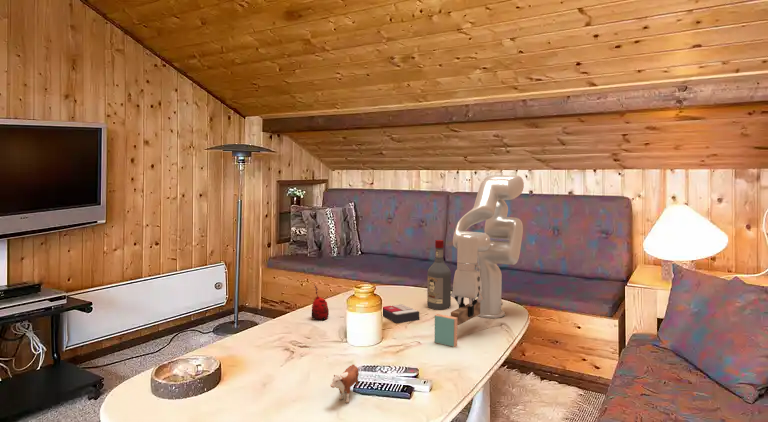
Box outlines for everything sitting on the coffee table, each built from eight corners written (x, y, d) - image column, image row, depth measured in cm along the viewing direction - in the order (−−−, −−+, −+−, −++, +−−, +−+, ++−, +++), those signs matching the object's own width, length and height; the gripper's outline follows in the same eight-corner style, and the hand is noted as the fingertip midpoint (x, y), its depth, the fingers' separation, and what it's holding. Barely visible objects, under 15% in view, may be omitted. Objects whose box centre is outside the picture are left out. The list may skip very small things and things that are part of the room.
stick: (473, 312, 202) (473, 301, 201) (480, 313, 200) (480, 302, 200) (450, 324, 187) (450, 312, 187) (458, 325, 186) (458, 313, 185)
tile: (437, 340, 185) (437, 313, 184) (457, 345, 180) (457, 317, 180) (434, 342, 183) (434, 315, 182) (453, 347, 179) (454, 319, 178)
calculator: (401, 303, 224) (419, 309, 210) (402, 313, 224) (419, 320, 211) (379, 306, 219) (396, 313, 205) (379, 316, 219) (396, 324, 206)
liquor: (437, 303, 236) (438, 238, 233) (453, 307, 229) (454, 240, 227) (424, 306, 230) (424, 240, 227) (439, 311, 223) (440, 242, 220)
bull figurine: (327, 406, 134) (327, 376, 134) (349, 386, 147) (349, 358, 146) (343, 409, 133) (342, 379, 132) (363, 388, 145) (363, 360, 145)
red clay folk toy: (331, 319, 211) (331, 283, 210) (316, 322, 207) (316, 285, 206) (323, 315, 217) (322, 280, 216) (308, 317, 213) (307, 282, 212)
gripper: (491, 268, 191) (490, 317, 192) (452, 263, 200) (451, 309, 202) (482, 271, 185) (481, 321, 186) (443, 266, 194) (442, 313, 195)
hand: (466, 314), depth 194 cm, fingers closed on stick, 2 cm apart
